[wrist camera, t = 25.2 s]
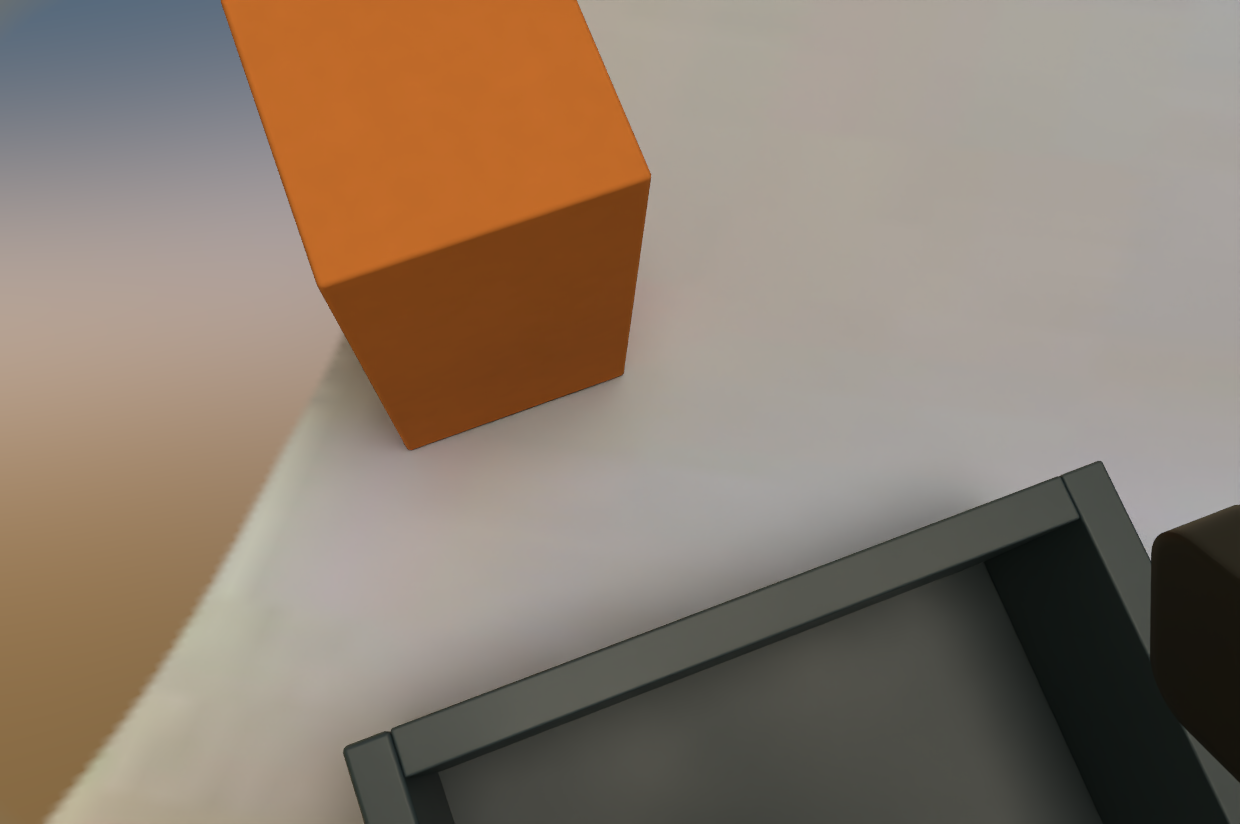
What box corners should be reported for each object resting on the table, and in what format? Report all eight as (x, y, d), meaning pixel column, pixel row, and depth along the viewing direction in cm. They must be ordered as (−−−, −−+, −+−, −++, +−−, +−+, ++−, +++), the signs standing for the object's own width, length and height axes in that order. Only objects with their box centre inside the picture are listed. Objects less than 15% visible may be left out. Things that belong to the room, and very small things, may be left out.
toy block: (547, 181, 27) (534, -101, 18) (624, 375, 26) (654, 176, 17) (338, 249, 27) (217, -8, 18) (408, 452, 26) (316, 288, 16)
